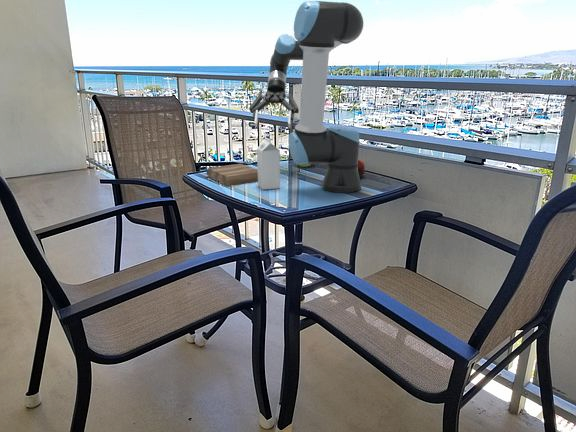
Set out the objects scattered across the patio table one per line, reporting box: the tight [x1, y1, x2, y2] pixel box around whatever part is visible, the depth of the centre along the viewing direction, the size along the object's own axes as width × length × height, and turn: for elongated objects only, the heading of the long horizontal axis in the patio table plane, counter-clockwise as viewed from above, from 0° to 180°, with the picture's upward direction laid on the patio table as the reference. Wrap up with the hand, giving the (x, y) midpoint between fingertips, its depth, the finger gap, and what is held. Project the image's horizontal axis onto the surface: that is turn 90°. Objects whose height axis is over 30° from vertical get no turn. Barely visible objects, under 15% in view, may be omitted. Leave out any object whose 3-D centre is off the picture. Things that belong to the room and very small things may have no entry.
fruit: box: [358, 158, 366, 178], centre depth 179 cm, size 9×10×10 cm
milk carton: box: [256, 137, 281, 190], centre depth 161 cm, size 7×7×19 cm
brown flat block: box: [206, 163, 258, 187], centre depth 177 cm, size 20×16×4 cm
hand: (272, 125), depth 168 cm, fingers open, 13 cm apart
